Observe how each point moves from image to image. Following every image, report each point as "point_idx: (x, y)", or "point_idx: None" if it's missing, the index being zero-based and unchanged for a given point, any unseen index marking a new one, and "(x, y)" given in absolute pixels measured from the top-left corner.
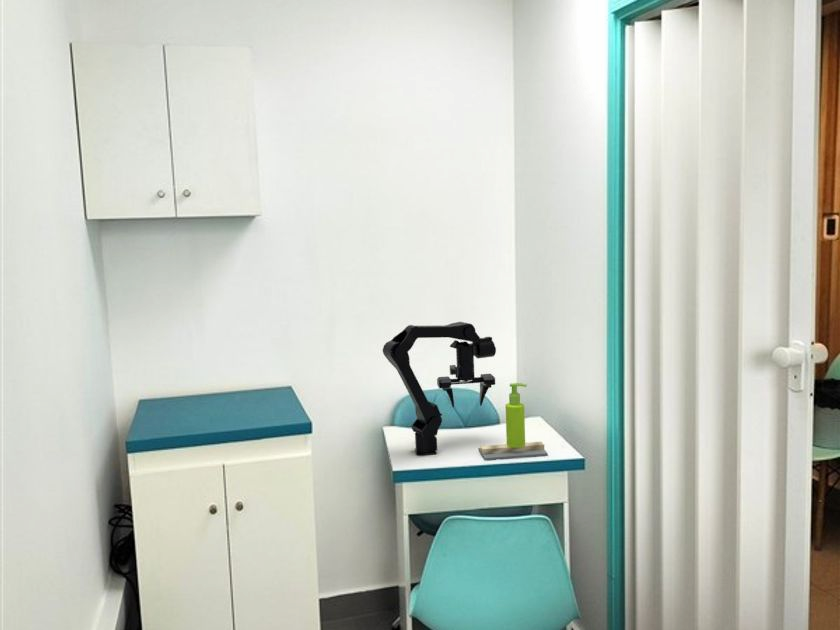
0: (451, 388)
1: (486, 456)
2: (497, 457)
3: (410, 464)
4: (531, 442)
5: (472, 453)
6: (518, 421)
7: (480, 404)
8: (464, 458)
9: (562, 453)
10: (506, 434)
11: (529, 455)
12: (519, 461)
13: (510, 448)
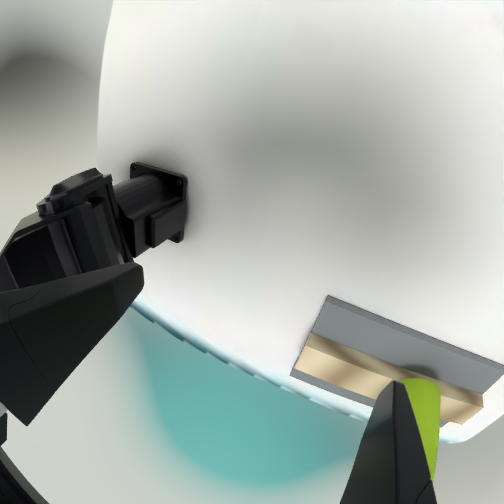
0: (17, 417)
1: (300, 371)
2: (324, 388)
3: None
4: (461, 402)
5: (292, 306)
6: None
7: (374, 408)
8: (249, 324)
9: (476, 423)
10: None
11: None
12: (362, 413)
13: None
